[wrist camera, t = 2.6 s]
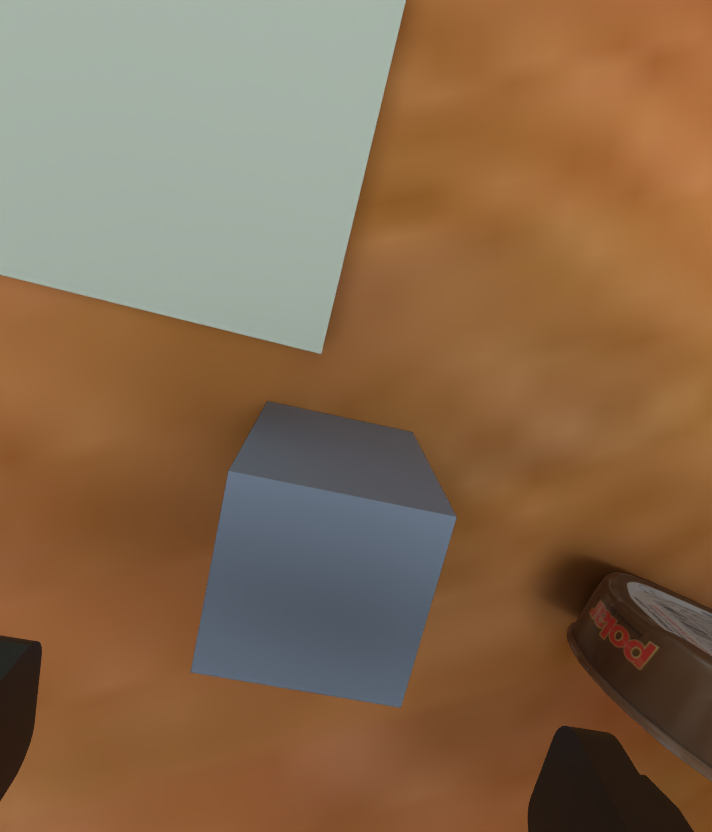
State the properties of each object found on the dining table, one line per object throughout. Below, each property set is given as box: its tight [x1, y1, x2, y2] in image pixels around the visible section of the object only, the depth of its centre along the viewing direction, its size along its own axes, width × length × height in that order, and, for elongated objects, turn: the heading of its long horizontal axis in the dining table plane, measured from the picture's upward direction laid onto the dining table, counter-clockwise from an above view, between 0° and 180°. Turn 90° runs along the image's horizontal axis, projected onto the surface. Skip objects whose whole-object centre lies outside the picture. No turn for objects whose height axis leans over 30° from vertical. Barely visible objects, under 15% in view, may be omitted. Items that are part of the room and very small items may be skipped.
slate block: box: [191, 401, 457, 708], centre depth 16 cm, size 5×5×7 cm
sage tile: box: [0, 0, 406, 354], centre depth 15 cm, size 10×10×4 cm
